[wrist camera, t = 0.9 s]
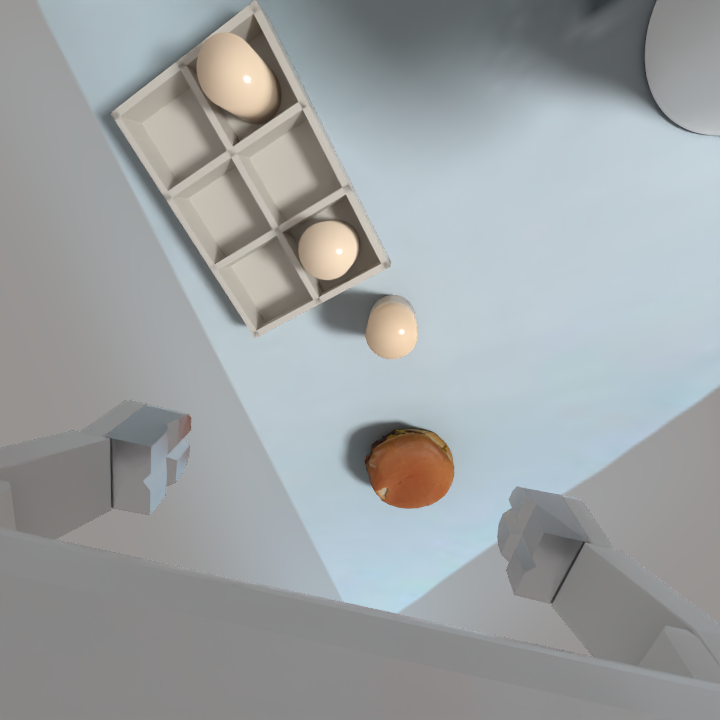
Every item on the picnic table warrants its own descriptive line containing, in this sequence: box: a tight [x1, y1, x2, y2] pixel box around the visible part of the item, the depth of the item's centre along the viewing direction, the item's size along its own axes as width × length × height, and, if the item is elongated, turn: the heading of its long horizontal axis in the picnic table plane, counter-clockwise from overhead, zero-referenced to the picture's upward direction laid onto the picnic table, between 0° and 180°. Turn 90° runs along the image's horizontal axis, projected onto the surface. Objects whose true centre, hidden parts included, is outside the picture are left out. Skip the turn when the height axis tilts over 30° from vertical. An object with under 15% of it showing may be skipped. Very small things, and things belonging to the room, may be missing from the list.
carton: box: [110, 0, 391, 338], centre depth 36 cm, size 15×22×4 cm
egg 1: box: [196, 32, 282, 124], centre depth 32 cm, size 5×5×6 cm
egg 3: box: [366, 295, 418, 359], centre depth 38 cm, size 5×5×6 cm
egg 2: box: [298, 220, 360, 280], centre depth 35 cm, size 5×5×6 cm
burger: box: [365, 429, 454, 508], centre depth 45 cm, size 10×9×5 cm
